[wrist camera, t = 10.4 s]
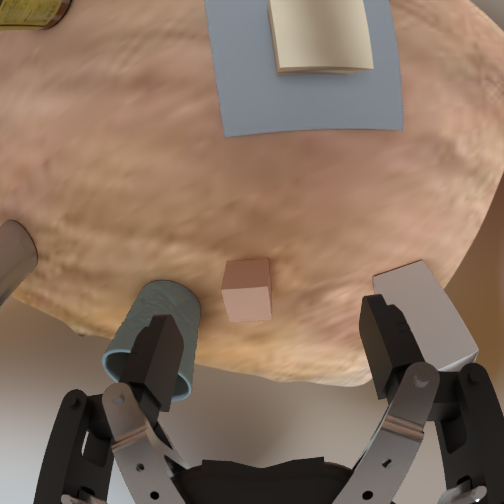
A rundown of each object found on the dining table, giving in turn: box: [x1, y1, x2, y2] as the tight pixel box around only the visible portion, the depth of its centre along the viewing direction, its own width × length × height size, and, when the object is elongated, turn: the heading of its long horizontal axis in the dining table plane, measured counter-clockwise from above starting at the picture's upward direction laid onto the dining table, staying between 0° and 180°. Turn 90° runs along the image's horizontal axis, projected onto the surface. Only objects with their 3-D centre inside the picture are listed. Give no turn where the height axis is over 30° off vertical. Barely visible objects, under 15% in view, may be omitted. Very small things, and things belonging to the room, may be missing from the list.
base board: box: [204, 0, 403, 138], centre depth 18 cm, size 16×16×2 cm
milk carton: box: [373, 260, 479, 372], centre depth 24 cm, size 7×7×19 cm
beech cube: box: [267, 0, 374, 76], centre depth 14 cm, size 6×6×6 cm
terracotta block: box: [221, 258, 272, 322], centre depth 30 cm, size 5×5×5 cm
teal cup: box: [102, 280, 201, 401], centre depth 30 cm, size 10×10×12 cm
